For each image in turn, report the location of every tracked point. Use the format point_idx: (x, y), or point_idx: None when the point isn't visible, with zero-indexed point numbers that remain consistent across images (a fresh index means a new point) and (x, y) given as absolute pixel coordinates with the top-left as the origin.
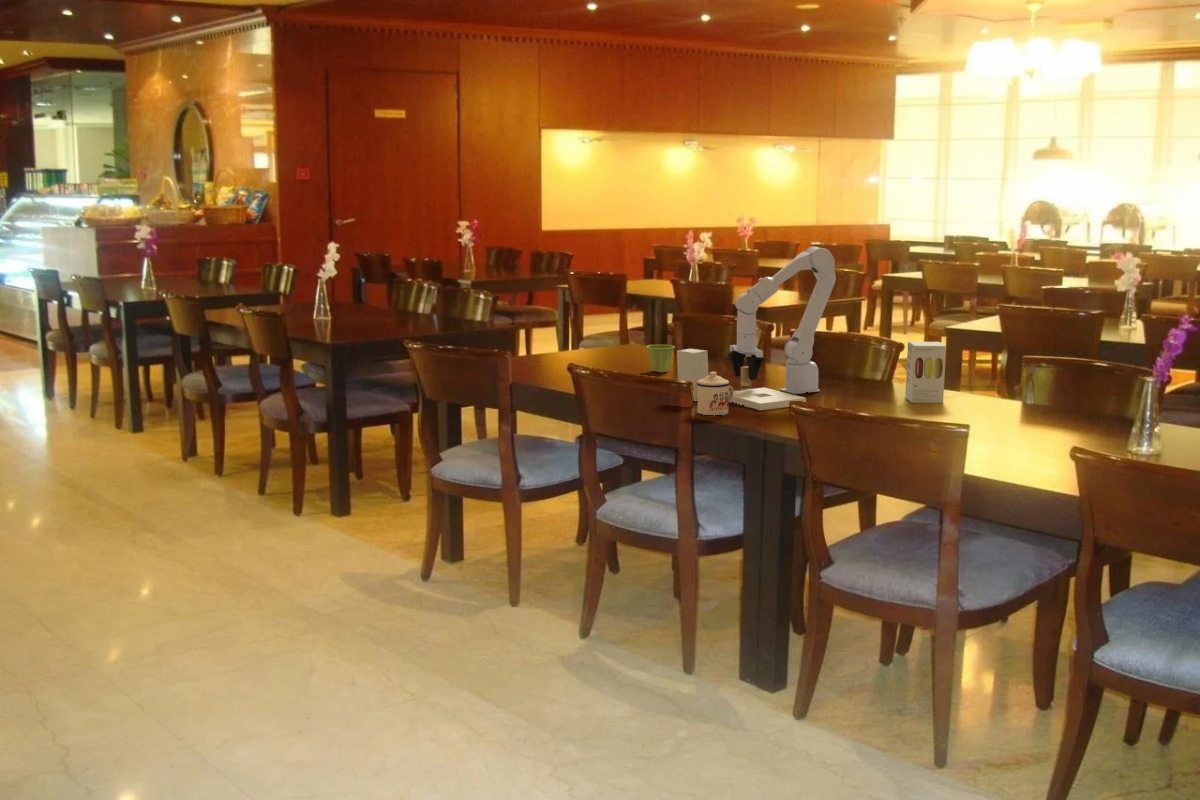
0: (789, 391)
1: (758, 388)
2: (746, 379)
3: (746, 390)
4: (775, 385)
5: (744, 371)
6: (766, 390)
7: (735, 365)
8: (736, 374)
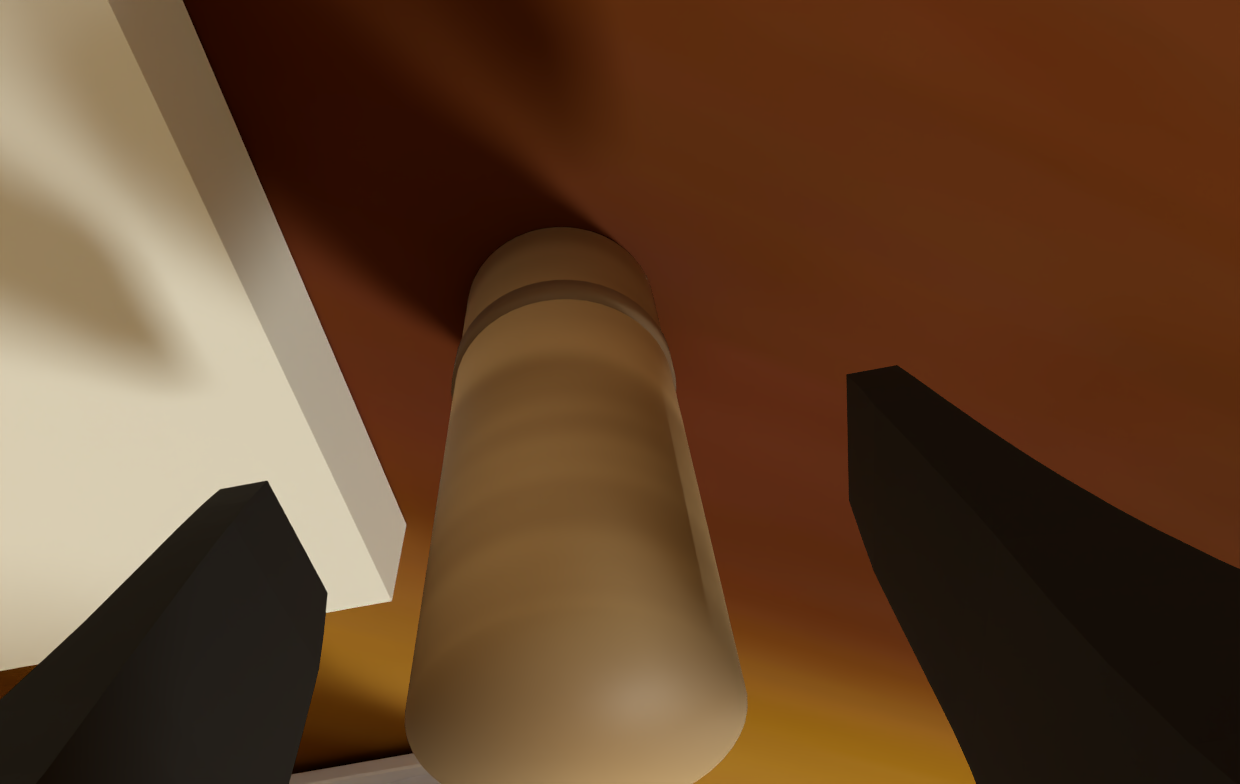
0: (364, 773)
1: (318, 502)
2: (447, 457)
3: (121, 234)
4: (901, 766)
5: (444, 568)
6: (80, 545)
7: (993, 572)
8: (866, 410)
